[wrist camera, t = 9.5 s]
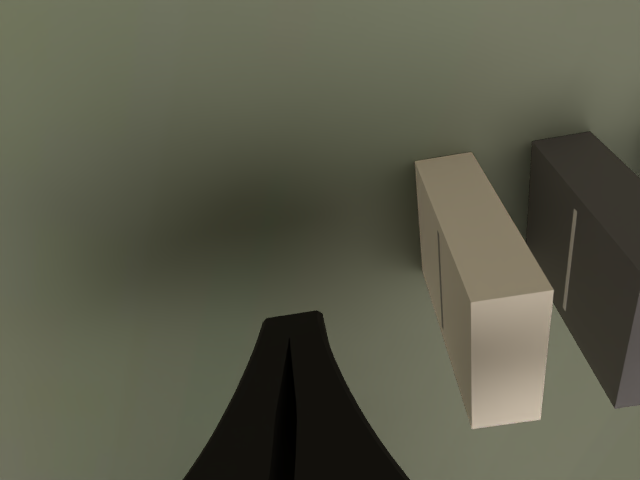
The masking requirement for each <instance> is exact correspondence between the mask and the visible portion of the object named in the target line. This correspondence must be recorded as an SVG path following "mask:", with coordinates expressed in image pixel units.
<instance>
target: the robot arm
mask: <svg viewBox="0 0 640 480" xmlns="http://www.w3.org/2000/svg"><path fill="white" fill-rule="evenodd" d="M183 480H410V479H409V478H408V477H407V475H406V474H405V473H404V472H403V470H402V469H401V468H400V466H399V465H398V464H397V463H396V461H395V460H394V459H393V457H392V456H391V455H390V453H389V452H388V451H387V449H386V448H385V446H384V445H383V443H382V442H381V441H380V439H379V438H378V436H377V435H376V433H375V432H374V430H373V429H372V427H371V426H370V424H369V423H368V421H367V419H366V418H365V416H364V414H363V413H362V411H361V409H360V408H359V406H358V404H357V402H356V401H355V399H354V397H353V395H352V393H351V392H350V390H349V388H348V386H347V384H346V382H345V380H344V378H343V376H342V374H341V372H340V369H339V367H338V365H337V363H336V361H335V358H334V356H333V353H332V351H331V348H330V345H329V341H328V337H327V332H326V328H325V323H324V318H323V314H322V313H321V312H319V311H310V312H304V313H297V314H291V315H285V316H278V317H272V318H266V319H265V321H264V322H263V324H262V327H261V330H260V333H259V336H258V339H257V342H256V344H255V347H254V350H253V352H252V355H251V357H250V360H249V362H248V365H247V367H246V369H245V371H244V374H243V376H242V378H241V380H240V382H239V385H238V387H237V389H236V391H235V393H234V395H233V397H232V399H231V401H230V403H229V405H228V407H227V409H226V411H225V413H224V414H223V416H222V418H221V420H220V422H219V424H218V426H217V427H216V429H215V431H214V433H213V434H212V436H211V438H210V439H209V441H208V443H207V444H206V446H205V447H204V449H203V451H202V452H201V454H200V455H199V457H198V458H197V460H196V461H195V463H194V464H193V466H192V467H191V469H190V470H189V472H188V473H187V474H186V476H185V477H184V479H183Z"/></svg>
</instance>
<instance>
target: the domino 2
mask: <svg viewBox="0 0 640 480" xmlns="http://www.w3.org/2000/svg"><path fill="white" fill-rule="evenodd" d="M526 244H527V246H528V247H529V249H530V251H531V252H532V254H533V256H534V258H535V259H536V261H537V263H538V264H539V266H540V268H541V269H542V271H543V273H544V274H545V276H546V278H547V279H548V281H549V283H550V284H551V286H552V288H553V290H554V293H553V303H554V305H555V307H556V308H557V310H558V312H559V314H560V315H561V317H562V319H563V320H564V322H565V324H566V326H567V327H568V329H569V331H570V333H571V334H572V336H573V338H574V339H575V341H576V343H577V345H578V346H579V348H580V350H581V351H582V353H583V355H584V357H585V358H586V360H587V362H588V363H589V365H590V367H591V369H592V370H593V372H594V374H595V376H596V377H597V379H598V381H599V382H600V384H601V386H602V388H603V389H604V391H605V393H606V394H607V396H608V398H609V400H610V401H611V403H612V405H613V406H614V408H622V407H629V406H636V405H640V178H639V177H638V176H637V175H636V174H635V173H634V172H633V171H632V170H630V169H629V168H628V167H627V166H626V165H625V164H624V163H623V162H622V161H621V160H620V159H619V158H618V157H617V156H616V155H615V154H614V153H613V152H611V151H610V150H609V149H608V148H607V147H606V146H605V145H604V144H603V143H602V142H601V141H600V140H599V139H598V138H597V137H596V136H595V135H593V134H592V133H591V132H584V133H578V134H572V135H566V136H560V137H554V138H548V139H542V140H536V141H532V151H531V168H530V185H529V202H528V219H527V236H526Z"/></svg>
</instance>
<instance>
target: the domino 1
mask: <svg viewBox="0 0 640 480" xmlns="http://www.w3.org/2000/svg"><path fill="white" fill-rule="evenodd" d="M415 172H416V187H417V201H418V215H419V230H420V244H421V258H422V272H423V275H424V278H425V281H426V284H427V288H428V291H429V294H430V297H431V300H432V304H433V307H434V310H435V313H436V316H437V320H438V323H439V326H440V329H441V332H442V335H443V339H444V342H445V345H446V348H447V351H448V355H449V358H450V361H451V364H452V367H453V371H454V374H455V377H456V380H457V383H458V387H459V390H460V393H461V396H462V399H463V403H464V406H465V409H466V412H467V415H468V418H469V422H470V425H471V428H472V429H476V428H483V427H490V426H497V425H505V424H512V423H519V422H527V421H534V420H540V419H541V409H542V400H543V390H544V380H545V371H546V361H547V351H548V342H549V332H550V322H551V313H552V303H553V293H554V290H553V288H552V286H551V284H550V283H549V281H548V279H547V278H546V276H545V274H544V273H543V271H542V269H541V268H540V266H539V264H538V263H537V261H536V259H535V258H534V256H533V254H532V252H531V251H530V249H529V247H528V246H527V244H526V242H525V241H524V239H523V237H522V236H521V234H520V232H519V231H518V229H517V227H516V226H515V224H514V222H513V221H512V219H511V217H510V215H509V214H508V212H507V210H506V209H505V207H504V205H503V204H502V202H501V200H500V199H499V197H498V195H497V194H496V192H495V190H494V189H493V187H492V185H491V184H490V182H489V180H488V178H487V177H486V175H485V173H484V172H483V170H482V168H481V167H480V165H479V163H478V162H477V160H476V158H475V157H474V155H473V153H472V152H468V153H462V154H456V155H449V156H443V157H437V158H431V159H425V160H419V161H415Z"/></svg>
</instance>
